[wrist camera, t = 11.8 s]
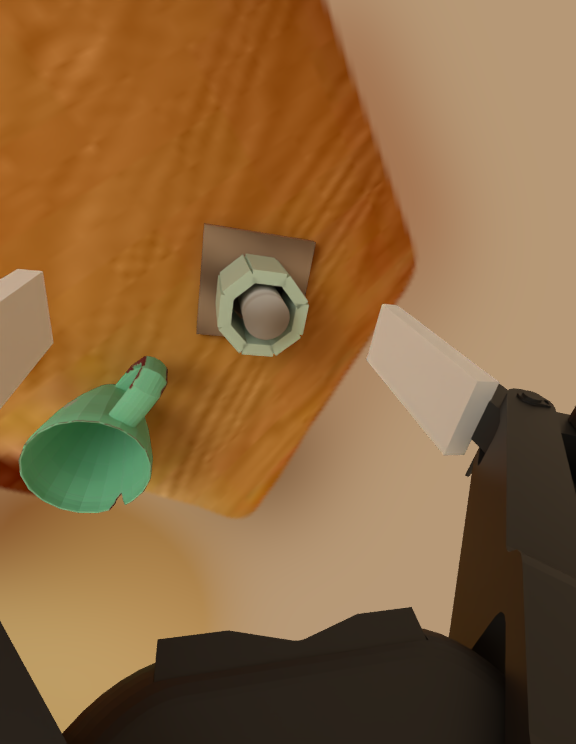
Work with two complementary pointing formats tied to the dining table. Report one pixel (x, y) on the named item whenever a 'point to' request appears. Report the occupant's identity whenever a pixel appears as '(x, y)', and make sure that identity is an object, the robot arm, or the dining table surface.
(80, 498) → the mug
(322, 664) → the robot arm
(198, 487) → the dining table surface
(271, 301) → the shaft block
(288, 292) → the pale green hollow tube
